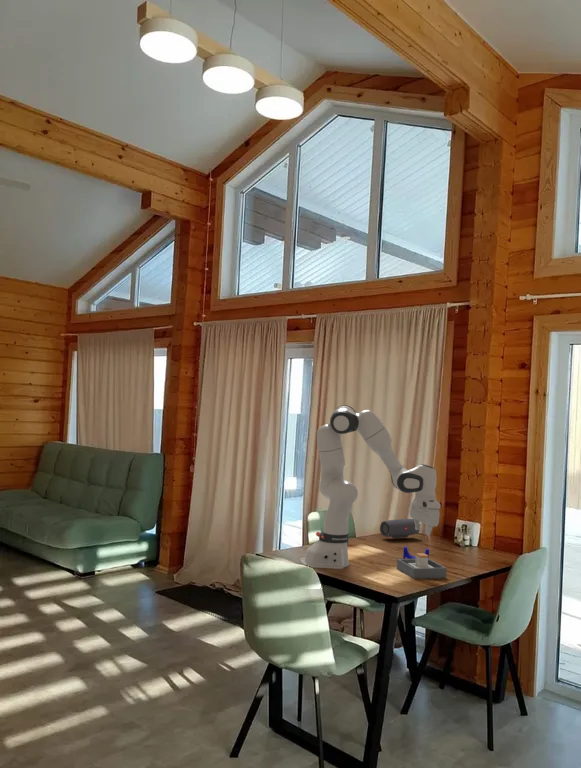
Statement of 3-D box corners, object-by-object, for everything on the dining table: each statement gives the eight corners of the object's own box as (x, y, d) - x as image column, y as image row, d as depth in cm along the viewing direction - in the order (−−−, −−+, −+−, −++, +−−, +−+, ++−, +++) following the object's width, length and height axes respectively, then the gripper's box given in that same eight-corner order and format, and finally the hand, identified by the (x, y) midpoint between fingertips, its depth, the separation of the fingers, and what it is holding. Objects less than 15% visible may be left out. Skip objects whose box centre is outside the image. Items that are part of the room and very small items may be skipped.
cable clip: (403, 560, 314) (403, 548, 314) (403, 558, 318) (403, 546, 318) (428, 563, 311) (429, 550, 311) (428, 561, 316) (429, 548, 316)
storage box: (413, 580, 280) (413, 568, 280) (396, 570, 295) (397, 559, 295) (446, 579, 285) (446, 568, 285) (428, 569, 300) (428, 558, 300)
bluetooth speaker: (389, 540, 355) (390, 522, 355) (378, 536, 363) (379, 518, 363) (420, 537, 367) (421, 519, 367) (409, 534, 375) (410, 516, 375)
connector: (419, 573, 288) (420, 555, 288) (414, 571, 291) (415, 553, 292) (427, 573, 289) (428, 555, 289) (423, 571, 293) (424, 553, 293)
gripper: (407, 497, 299) (405, 527, 299) (429, 505, 280) (427, 537, 280) (419, 497, 301) (417, 527, 301) (442, 505, 282) (440, 537, 282)
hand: (422, 532), depth 290 cm, fingers open, 8 cm apart
